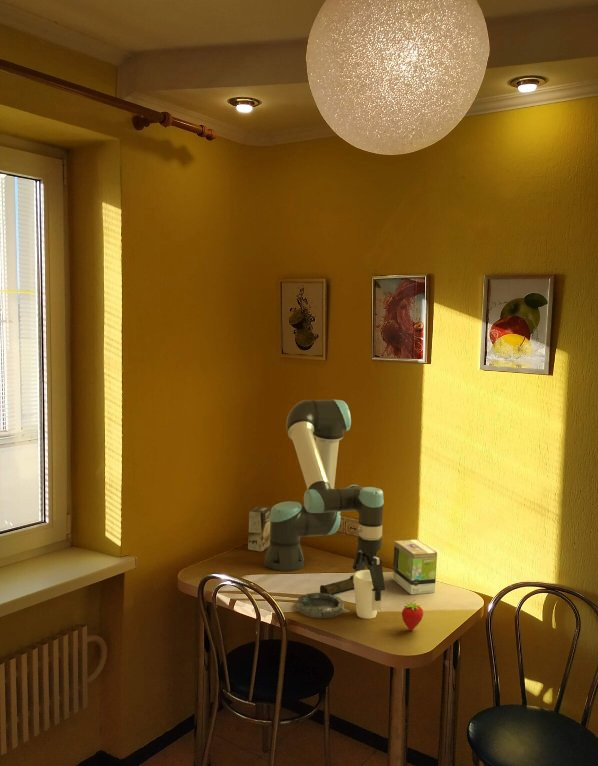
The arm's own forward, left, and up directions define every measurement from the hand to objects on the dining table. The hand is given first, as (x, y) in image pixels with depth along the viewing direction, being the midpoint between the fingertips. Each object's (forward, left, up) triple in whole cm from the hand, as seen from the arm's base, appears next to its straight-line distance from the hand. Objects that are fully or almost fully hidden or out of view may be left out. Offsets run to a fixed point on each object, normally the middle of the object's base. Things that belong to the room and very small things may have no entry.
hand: (367, 601), depth 225 cm
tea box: (-18, +26, -5) cm, 32 cm away
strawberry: (+14, +9, -5) cm, 17 cm away
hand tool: (-21, 0, -5) cm, 21 cm away
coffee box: (-70, -17, -5) cm, 72 cm away
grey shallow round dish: (-8, -13, -4) cm, 16 cm away
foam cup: (0, 0, -5) cm, 5 cm away
